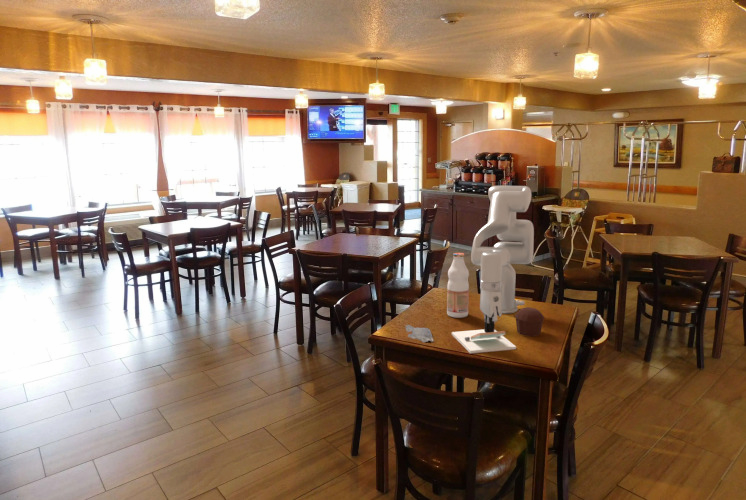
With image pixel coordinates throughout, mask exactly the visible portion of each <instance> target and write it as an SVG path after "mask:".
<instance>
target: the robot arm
mask: <svg viewBox="0 0 746 500" xmlns="http://www.w3.org/2000/svg"><path fill="white" fill-rule="evenodd" d="M487 191H488V192H487V193H488V199H489V201H490V202H489V203H490V204H489V211H488V218H487V223H486V224H485V225H483V226H482V227H481V228H480V229H479V230H478V232H476V234H475V236H474V238H473V242H472V248H471V252H470V253H471V254H470V260H471V263H472V264H473V265H474V266H477V267H480V278H479V279H480V286H479V289H480V296H479V297H480V298H479V310H480V312H482V314H483V318H484V319H483V320H484V329H485V330H484V331H485V332H486V333H487V332H494V329H495V323H496V322H498V317H499V318H501V317H502V315H503V314H513V313H517V312H518V311H519V309H518V306H524V305H525V304H526V303H525V300H519V299H515V298H516V279H517V278H516V270H515V268H514V267H513V265H512V264H516V265H517V264H518V265H519V264H520V265H528V264H530V263H532V261H533V257H534V241H535V239H534V236H535V231H534V230H535V228H534V224H533V222H532V221H531V220H528V219H517V213H526V212H527V211H528V209H529V206H530V204H531V201H532V189H531V188H530V187H529V186H526V185H492V186H491V187H490V188H488V190H487ZM494 236H496V237H497V239H498V240H500V241H498V242H497V243H495V244H494V245H493V246H482V244H483V242H484V241H486V240H487V239H490V238H492V237H494Z"/></svg>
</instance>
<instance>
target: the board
mask: <svg viewBox="0 0 746 500" xmlns="http://www.w3.org/2000/svg"><path fill="white" fill-rule="evenodd" d="M484 330H485V328H484V329H482V328H481V329H476V330H475V329H473V330H472V329H471V330H463V331H462V330H461V331H452V332H451V336H452V337H453V338H454V339H456V341H457V342H458V343H460V345H462V347H463V348H465V350H466V351H467V352H468V353H469V354H479V353H488V352H489V353H490V352H500V351H510V350H517V346H516V345H515V344H513V343H512V342H511V341H510V340H509V339H508V338H506V337H505V336H504V335H502V336H499V337H496V338H487V339H475V340H471V336H474V335H476V334H479V333H486V332H485V331H484ZM494 332H498V331H497V330H496V329H495V328H494Z"/></svg>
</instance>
